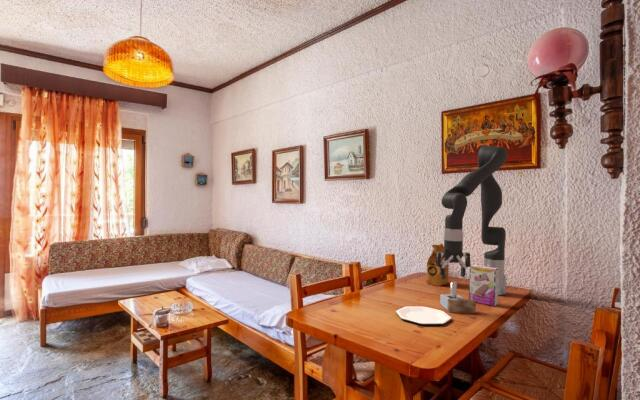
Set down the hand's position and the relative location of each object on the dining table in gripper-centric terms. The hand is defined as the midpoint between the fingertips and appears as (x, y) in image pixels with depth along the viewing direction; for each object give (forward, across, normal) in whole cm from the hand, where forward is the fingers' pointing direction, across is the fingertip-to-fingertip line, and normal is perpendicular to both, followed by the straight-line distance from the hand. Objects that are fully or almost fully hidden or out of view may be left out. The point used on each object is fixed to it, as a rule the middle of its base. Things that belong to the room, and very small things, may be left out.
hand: (452, 276), depth 148 cm
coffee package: (+14, +9, +42) cm, 45 cm away
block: (+13, 0, -1) cm, 13 cm away
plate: (+14, -17, -13) cm, 25 cm away
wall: (+13, +2, -6) cm, 15 cm away
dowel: (+13, 0, -1) cm, 13 cm away
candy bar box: (+14, +17, +7) cm, 23 cm away
